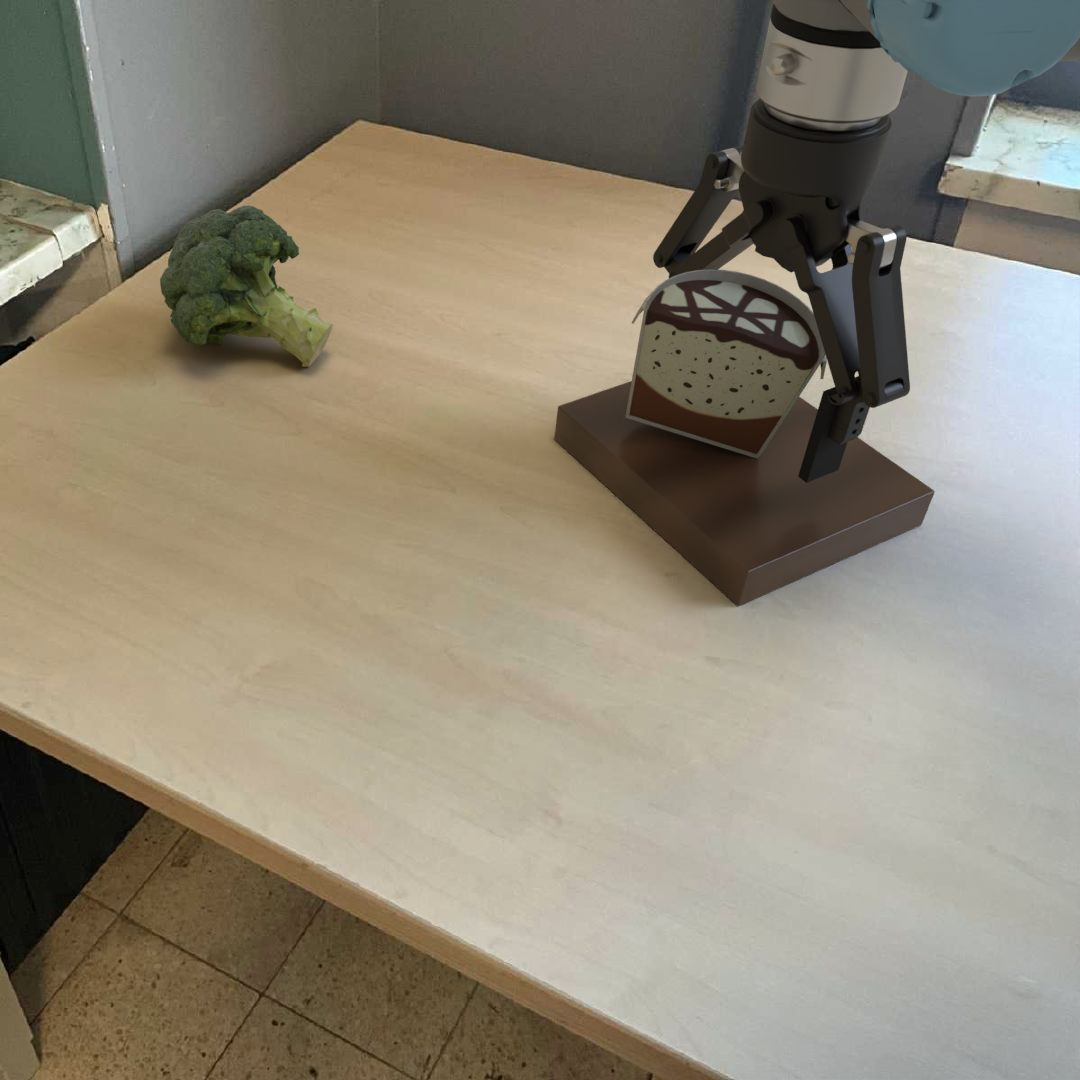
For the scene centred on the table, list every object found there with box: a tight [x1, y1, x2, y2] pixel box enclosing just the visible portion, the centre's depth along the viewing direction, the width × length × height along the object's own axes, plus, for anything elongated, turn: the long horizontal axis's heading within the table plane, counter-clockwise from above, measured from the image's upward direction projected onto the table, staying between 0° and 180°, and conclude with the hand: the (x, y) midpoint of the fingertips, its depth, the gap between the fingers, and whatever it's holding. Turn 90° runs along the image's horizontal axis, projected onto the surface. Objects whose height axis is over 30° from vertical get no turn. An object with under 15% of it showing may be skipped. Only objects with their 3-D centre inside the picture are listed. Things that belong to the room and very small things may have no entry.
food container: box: [625, 269, 828, 459], centre depth 78 cm, size 12×6×10 cm, turn 69°
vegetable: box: [159, 205, 334, 368], centre depth 93 cm, size 12×13×15 cm
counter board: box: [553, 380, 936, 607], centre depth 81 cm, size 20×16×3 cm
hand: (745, 419), depth 78 cm, fingers open, 13 cm apart
